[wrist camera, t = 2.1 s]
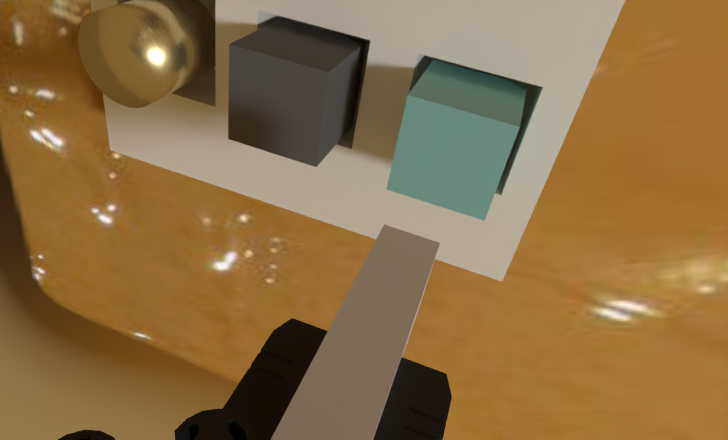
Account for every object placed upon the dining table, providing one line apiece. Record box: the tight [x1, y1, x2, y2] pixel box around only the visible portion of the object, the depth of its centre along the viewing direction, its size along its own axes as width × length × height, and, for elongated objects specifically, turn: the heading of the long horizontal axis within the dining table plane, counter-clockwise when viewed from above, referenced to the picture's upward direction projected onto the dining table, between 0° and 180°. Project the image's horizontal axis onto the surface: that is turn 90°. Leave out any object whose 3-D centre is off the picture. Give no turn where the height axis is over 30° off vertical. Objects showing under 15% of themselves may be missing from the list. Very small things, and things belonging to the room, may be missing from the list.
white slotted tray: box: [90, 0, 625, 281], centre depth 25 cm, size 14×22×5 cm, turn 80°
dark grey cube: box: [228, 19, 366, 167], centre depth 22 cm, size 4×4×4 cm
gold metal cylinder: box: [78, 0, 216, 108], centre depth 23 cm, size 4×4×4 cm
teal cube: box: [386, 60, 527, 221], centre depth 21 cm, size 4×4×4 cm
